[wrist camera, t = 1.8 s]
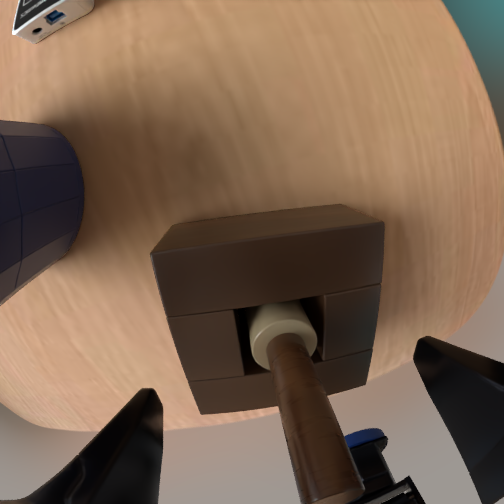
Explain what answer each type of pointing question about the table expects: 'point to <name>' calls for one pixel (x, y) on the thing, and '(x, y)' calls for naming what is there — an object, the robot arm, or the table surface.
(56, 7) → the multiport hub
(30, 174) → the blue hollow cylinder
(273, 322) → the brush
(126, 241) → the table surface
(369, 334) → the brush stand
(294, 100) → the table surface
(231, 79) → the table surface
